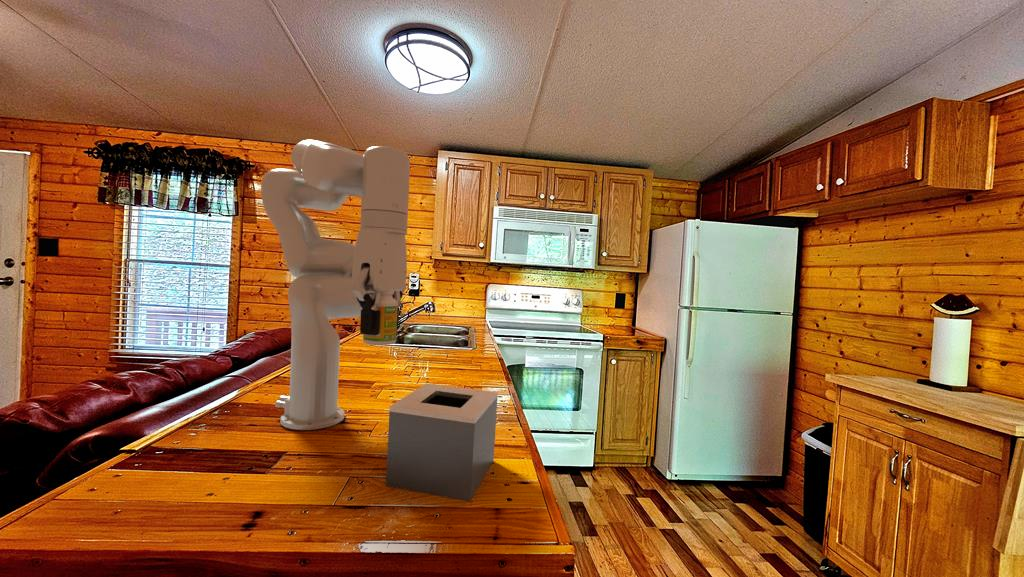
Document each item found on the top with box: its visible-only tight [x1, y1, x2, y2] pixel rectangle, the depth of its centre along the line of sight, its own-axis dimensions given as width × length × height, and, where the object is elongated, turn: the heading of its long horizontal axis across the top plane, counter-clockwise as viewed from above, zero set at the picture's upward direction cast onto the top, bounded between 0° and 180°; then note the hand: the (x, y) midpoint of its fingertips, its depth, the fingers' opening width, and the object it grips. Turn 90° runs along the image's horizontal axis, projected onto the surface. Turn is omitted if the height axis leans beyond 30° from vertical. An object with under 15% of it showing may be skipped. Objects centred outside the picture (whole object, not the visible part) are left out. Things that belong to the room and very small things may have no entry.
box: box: [385, 383, 499, 502], centre depth 72 cm, size 14×14×13 cm
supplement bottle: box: [362, 287, 399, 346], centre depth 71 cm, size 5×5×10 cm
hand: (380, 330), depth 71 cm, fingers closed on supplement bottle, 5 cm apart
